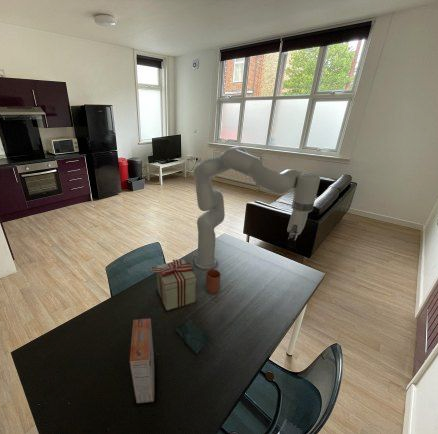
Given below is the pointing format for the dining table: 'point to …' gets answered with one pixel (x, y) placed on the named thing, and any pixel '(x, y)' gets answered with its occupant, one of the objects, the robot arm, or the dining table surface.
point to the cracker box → (142, 360)
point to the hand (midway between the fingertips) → (293, 242)
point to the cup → (212, 281)
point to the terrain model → (193, 336)
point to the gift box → (176, 283)
